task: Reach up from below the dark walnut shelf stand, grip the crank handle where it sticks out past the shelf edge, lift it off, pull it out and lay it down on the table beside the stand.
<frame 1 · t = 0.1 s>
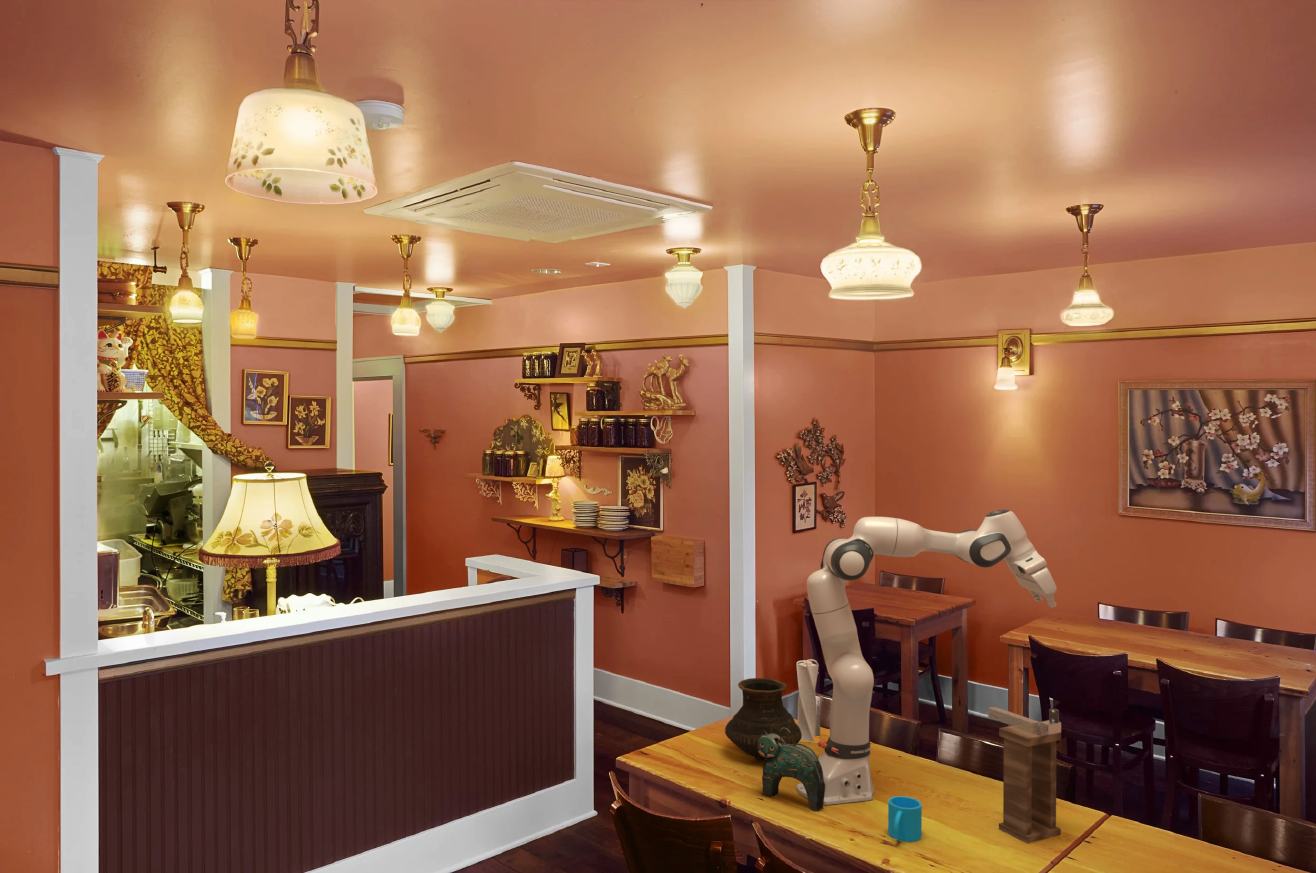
hand: (1046, 603, 250), 54 cm above the table, tool tilted 30°, fingers open, 8 cm apart
ceramic pot: (763, 755, 278), on the table
skyscraper: (808, 741, 293), on the table
shelf stand: (1029, 831, 223), on the table
mug: (902, 838, 219), on the table
crank handle: (1017, 725, 227), point 26 cm above the table, touching shelf stand
ceramic cat: (791, 801, 242), on the table
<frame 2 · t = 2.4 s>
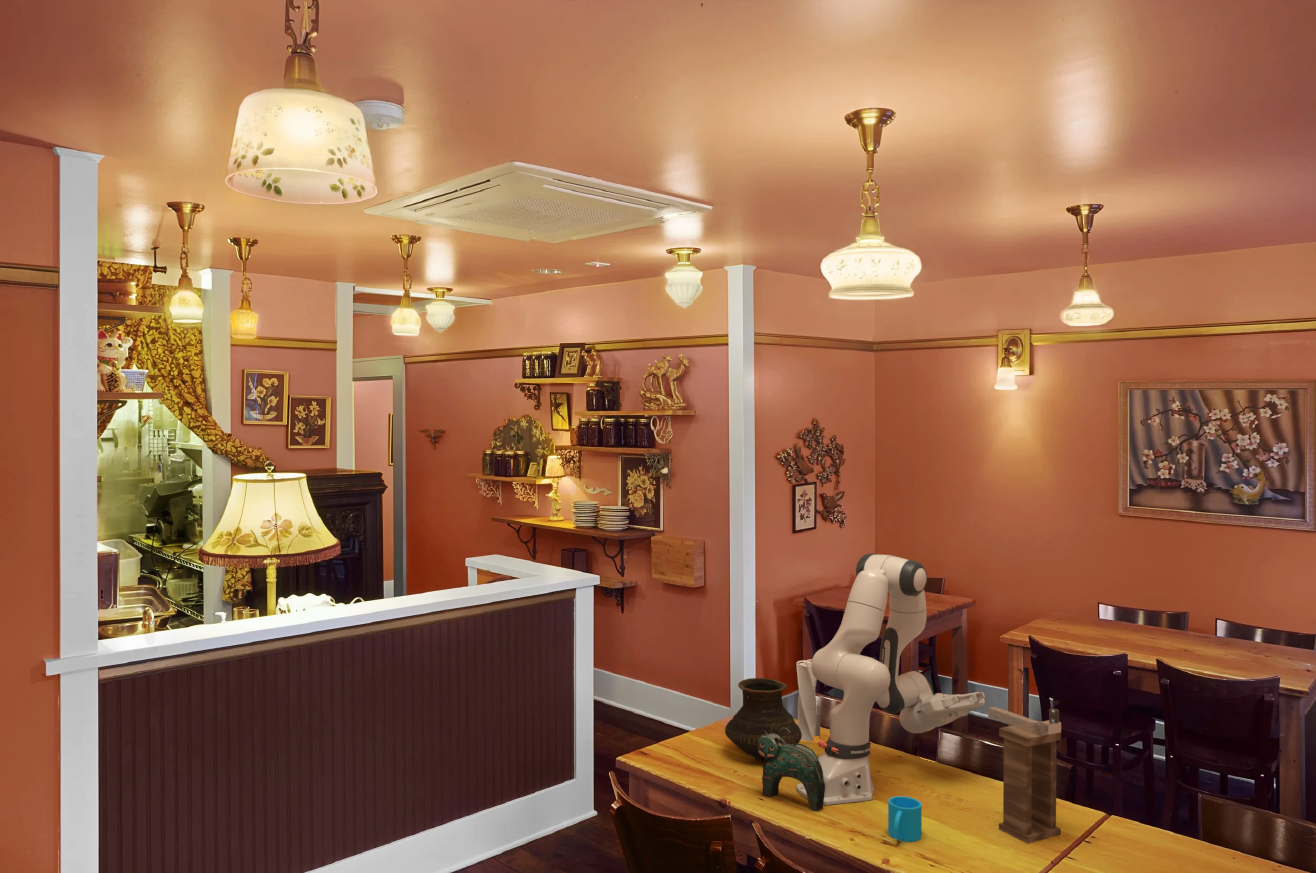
hand: (970, 696, 252), 27 cm above the table, tool pointing upward, fingers open, 8 cm apart
nothing on the table moved.
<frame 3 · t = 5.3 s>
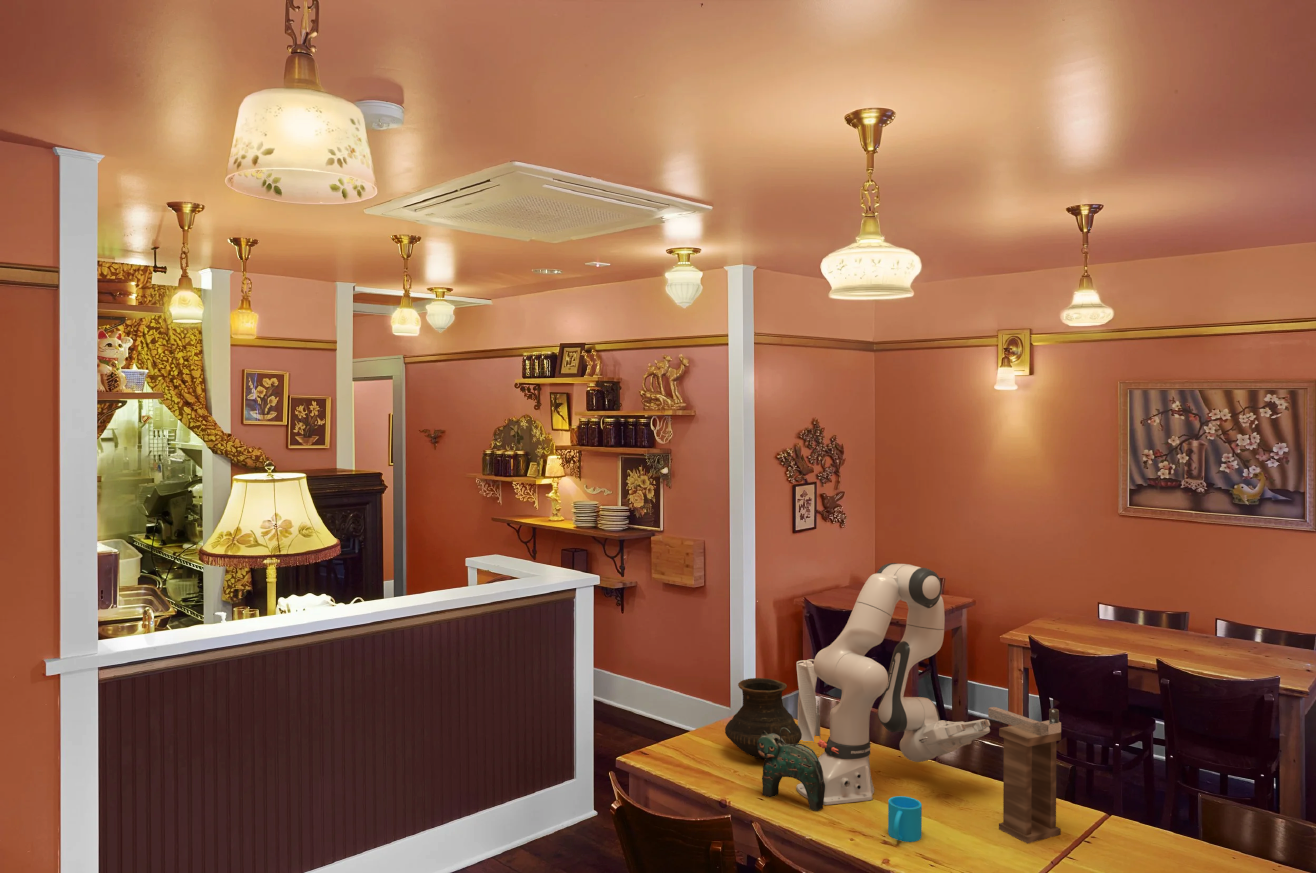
hand: (975, 724, 240), 22 cm above the table, tool pointing upward, fingers open, 8 cm apart
nothing on the table moved.
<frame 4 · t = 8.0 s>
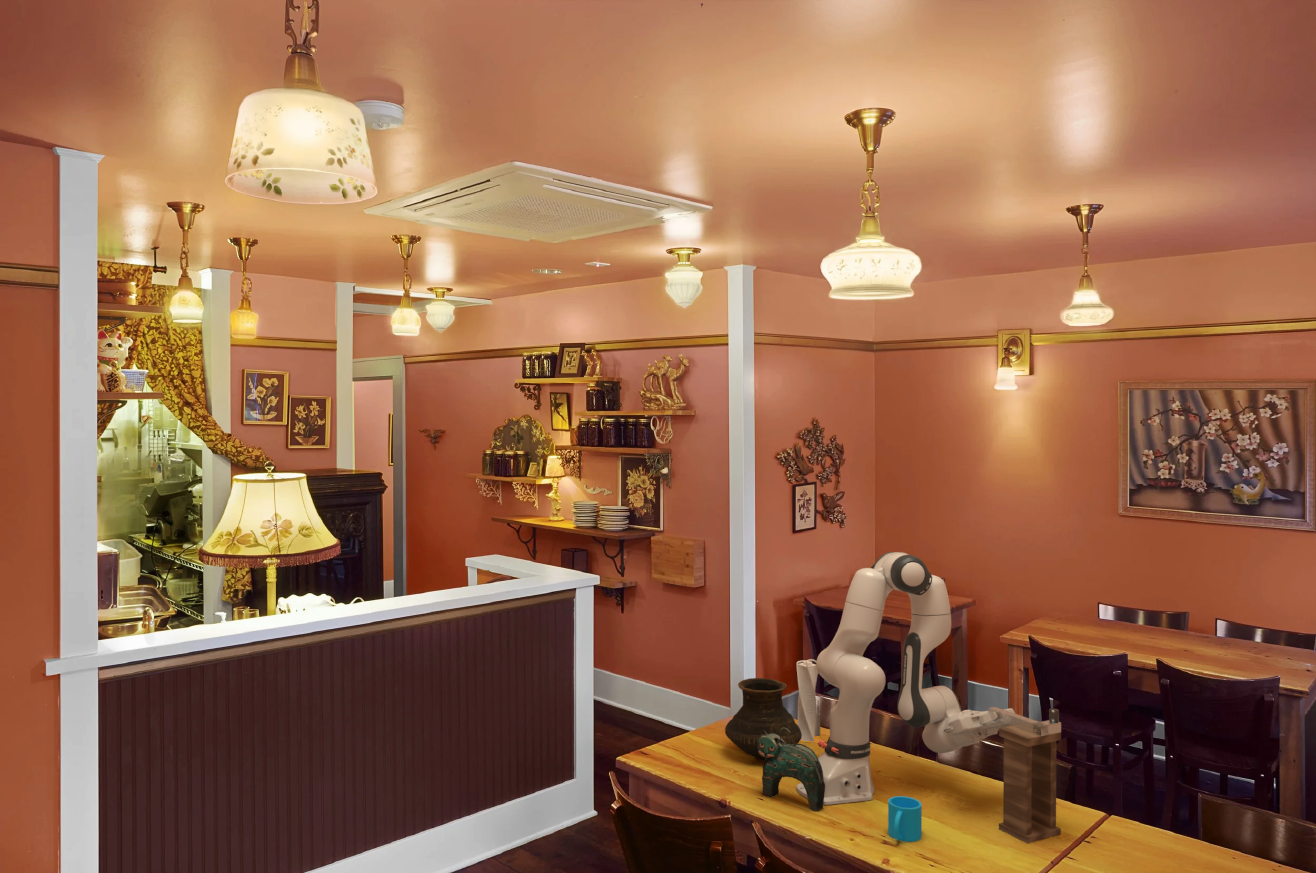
hand: (1002, 714, 232), 28 cm above the table, tool pointing upward, fingers closed on crank handle, 2 cm apart
crank handle: (1017, 725, 227), point 26 cm above the table, touching gripper, shelf stand
everything else where it was.
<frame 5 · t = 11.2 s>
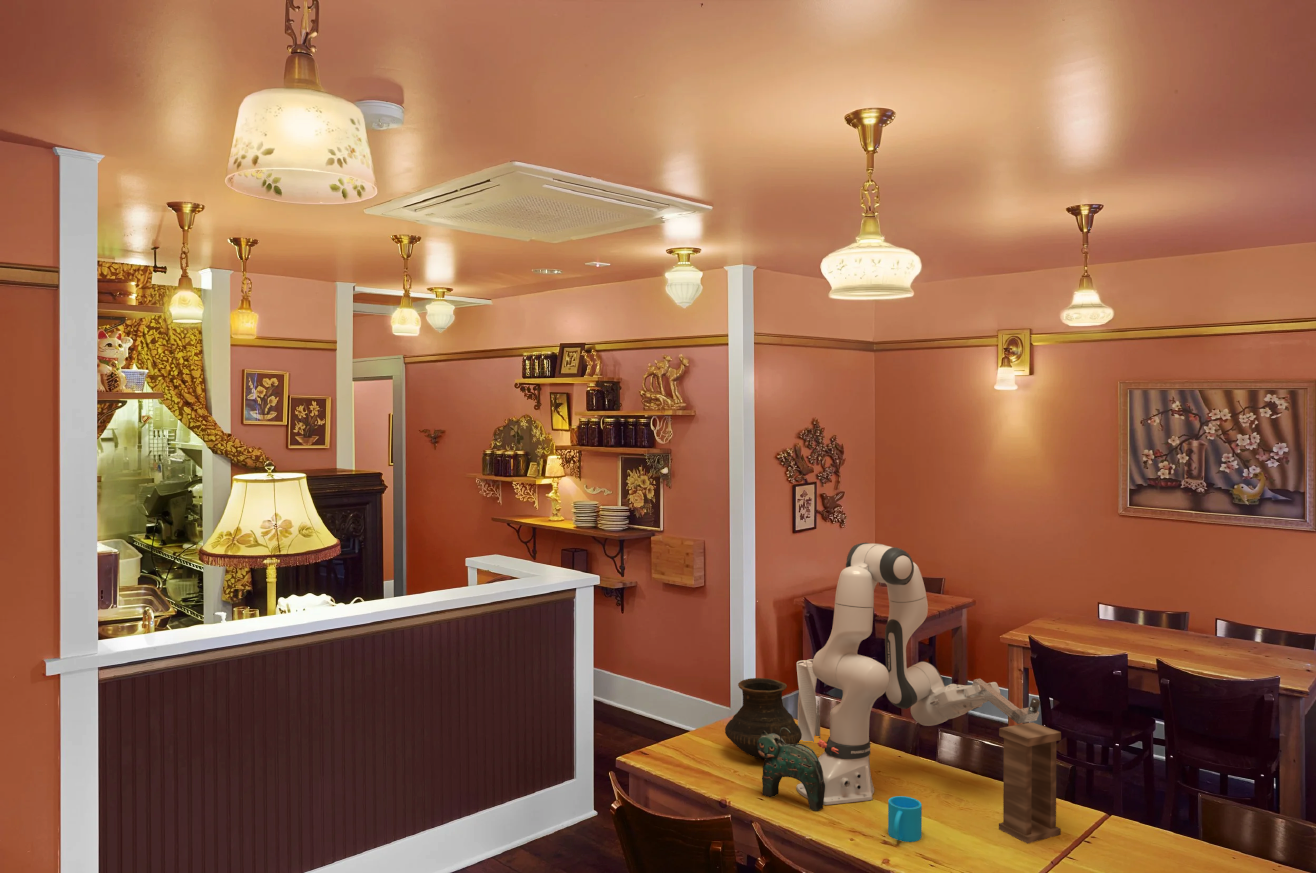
hand: (986, 686, 243), 32 cm above the table, tool pointing upward, fingers closed on crank handle, 2 cm apart
crank handle: (997, 704, 239), point 28 cm above the table, tilted 20°, touching gripper
everything else where it was.
when the fingers open (19 cm above the table, at t = 14.4 s): crank handle drops 15 cm, on the table.
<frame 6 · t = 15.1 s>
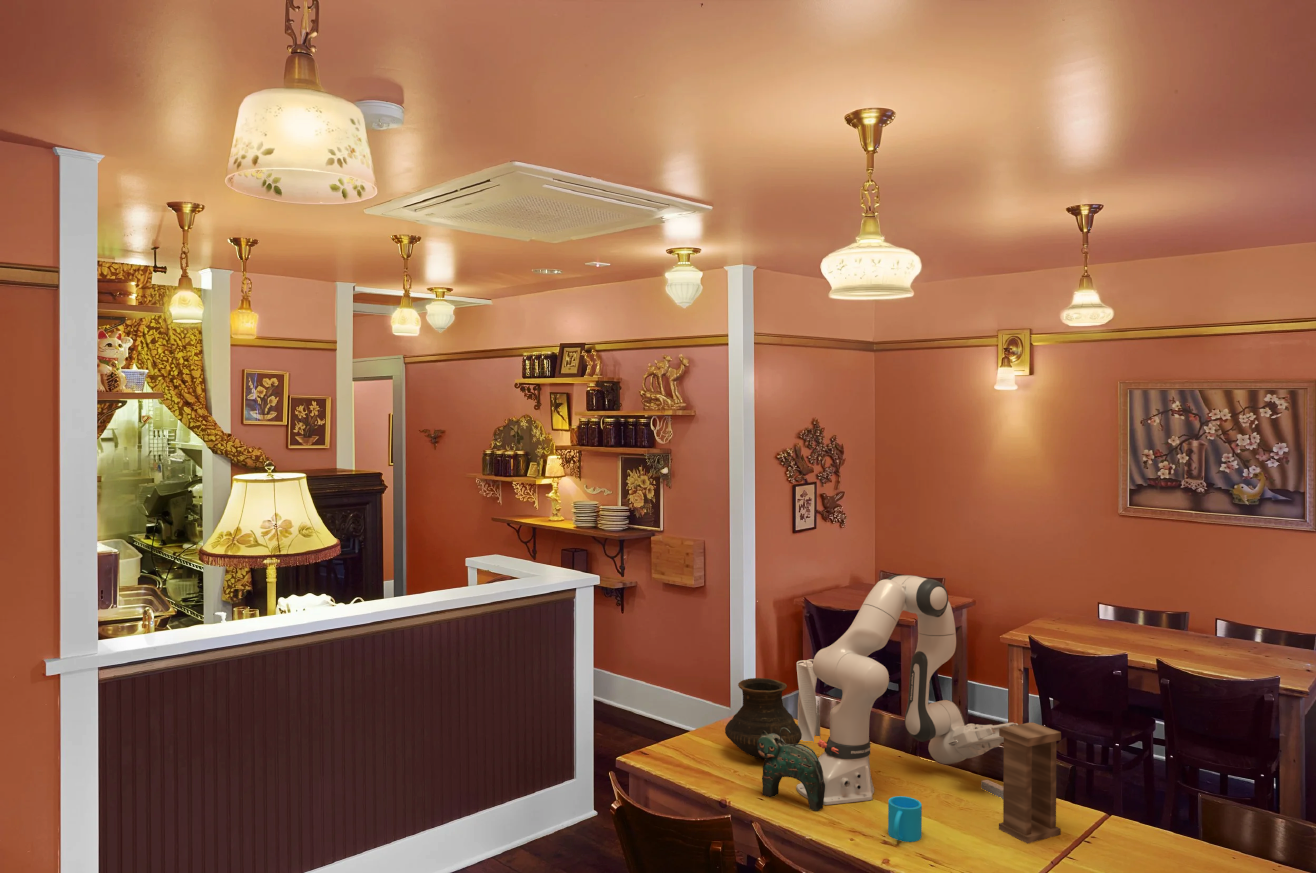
hand: (1004, 728, 246), 19 cm above the table, tool pointing upward, fingers open, 8 cm apart
crank handle: (1007, 799, 245), on the table
everything else where it was.
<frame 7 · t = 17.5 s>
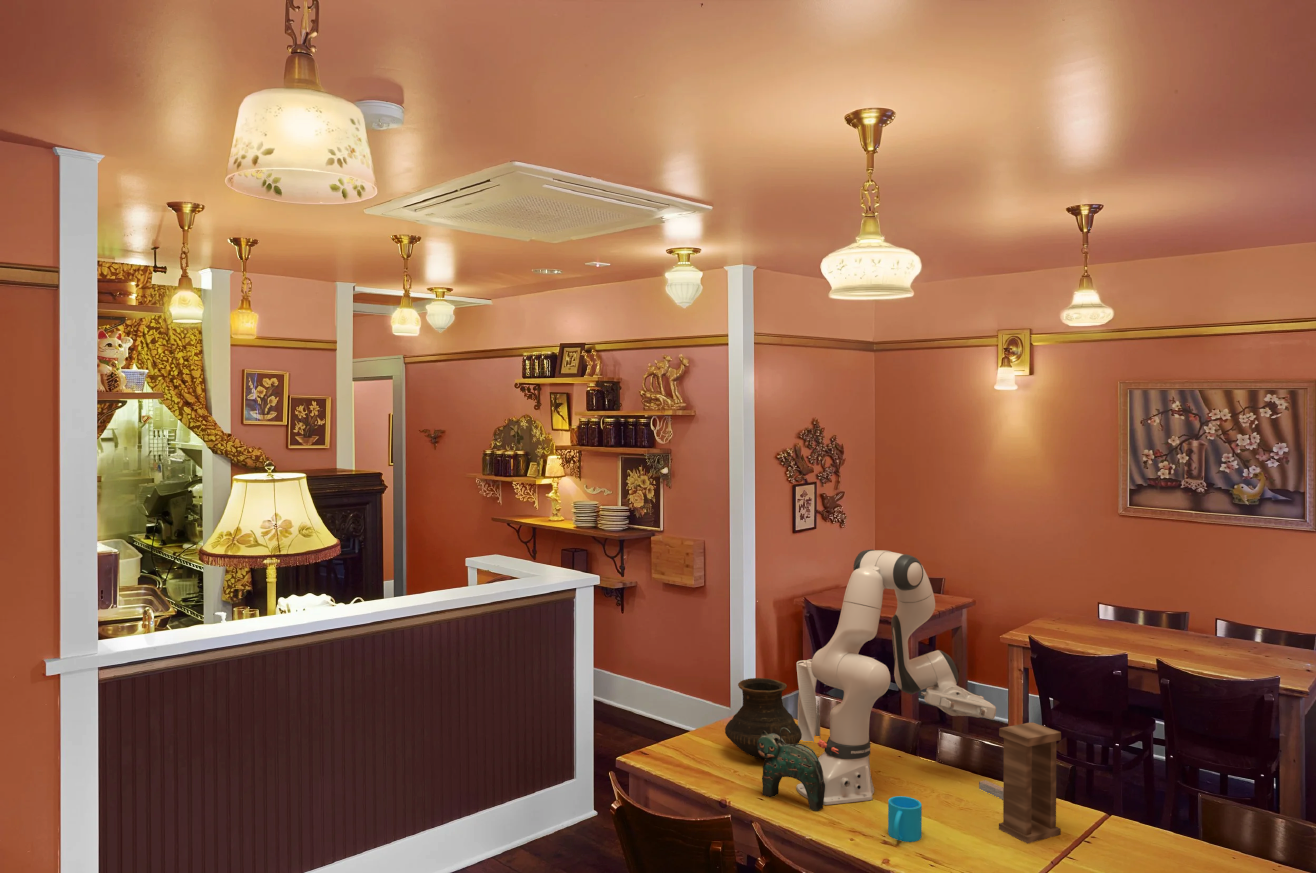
hand: (967, 709, 251), 23 cm above the table, tool horizontal, fingers open, 8 cm apart
nothing on the table moved.
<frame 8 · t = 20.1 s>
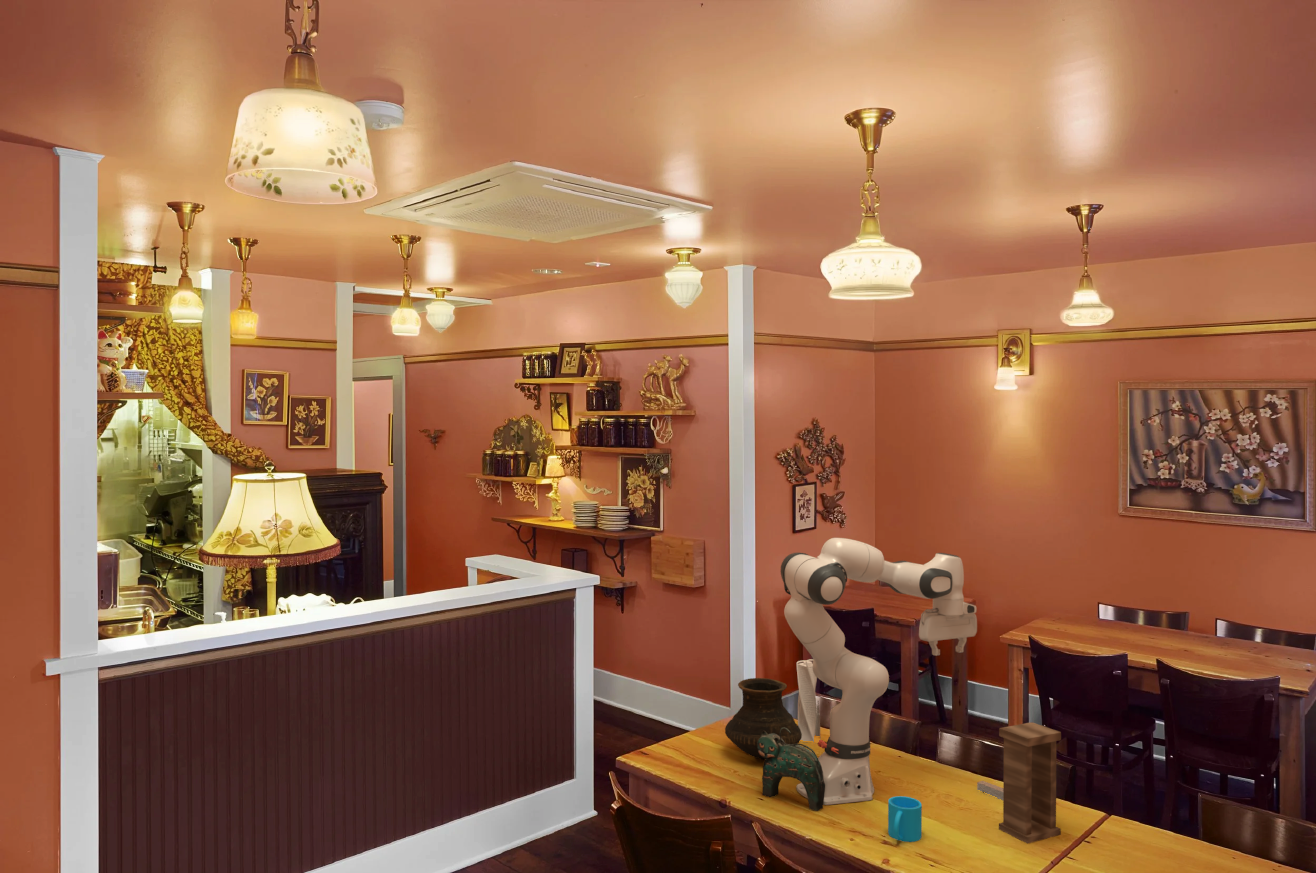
hand: (947, 653, 260), 37 cm above the table, tool pointing down, fingers open, 8 cm apart
at the end: crank handle inside the target area (3.4 cm from its centre), on the table; crank handle touching table; the gripper is holding nothing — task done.
